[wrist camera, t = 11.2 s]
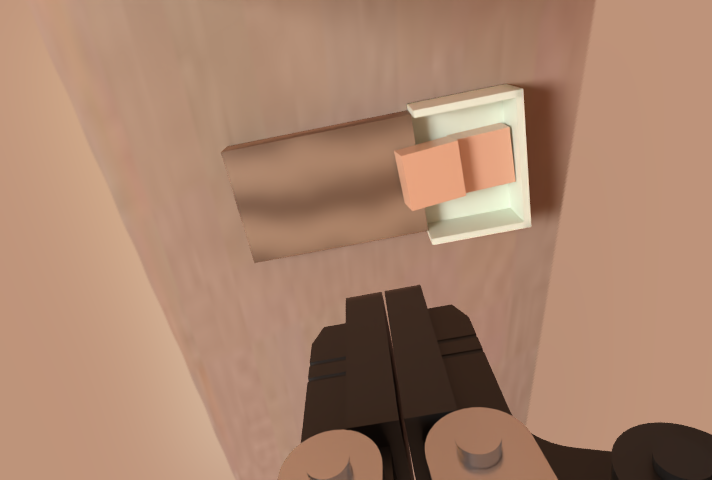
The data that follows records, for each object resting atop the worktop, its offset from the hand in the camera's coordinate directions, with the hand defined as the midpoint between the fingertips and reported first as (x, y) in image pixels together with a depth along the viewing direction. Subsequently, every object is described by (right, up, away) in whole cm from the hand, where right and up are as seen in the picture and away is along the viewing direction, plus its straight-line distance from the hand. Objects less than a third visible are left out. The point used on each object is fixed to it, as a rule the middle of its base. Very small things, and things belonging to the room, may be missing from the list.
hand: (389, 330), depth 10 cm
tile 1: (+6, +8, +34) cm, 36 cm away
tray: (+9, +9, +36) cm, 39 cm away
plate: (-3, +7, +37) cm, 38 cm away
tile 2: (+11, +10, +36) cm, 38 cm away
